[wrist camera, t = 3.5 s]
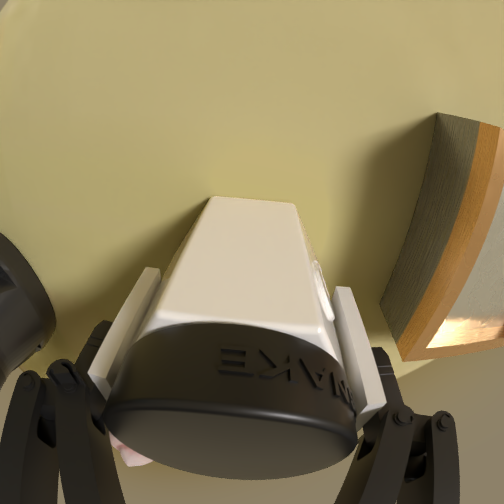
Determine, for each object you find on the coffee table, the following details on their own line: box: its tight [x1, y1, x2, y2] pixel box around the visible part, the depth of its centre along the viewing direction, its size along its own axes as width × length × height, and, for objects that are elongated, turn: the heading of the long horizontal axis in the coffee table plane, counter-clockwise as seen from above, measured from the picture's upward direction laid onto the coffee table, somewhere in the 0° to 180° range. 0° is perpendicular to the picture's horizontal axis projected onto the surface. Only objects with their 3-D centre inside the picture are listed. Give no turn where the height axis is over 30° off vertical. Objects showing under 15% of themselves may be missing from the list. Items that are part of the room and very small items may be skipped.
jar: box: [103, 196, 358, 480], centre depth 12 cm, size 9×8×12 cm
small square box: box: [379, 113, 504, 362], centre depth 13 cm, size 14×15×6 cm
